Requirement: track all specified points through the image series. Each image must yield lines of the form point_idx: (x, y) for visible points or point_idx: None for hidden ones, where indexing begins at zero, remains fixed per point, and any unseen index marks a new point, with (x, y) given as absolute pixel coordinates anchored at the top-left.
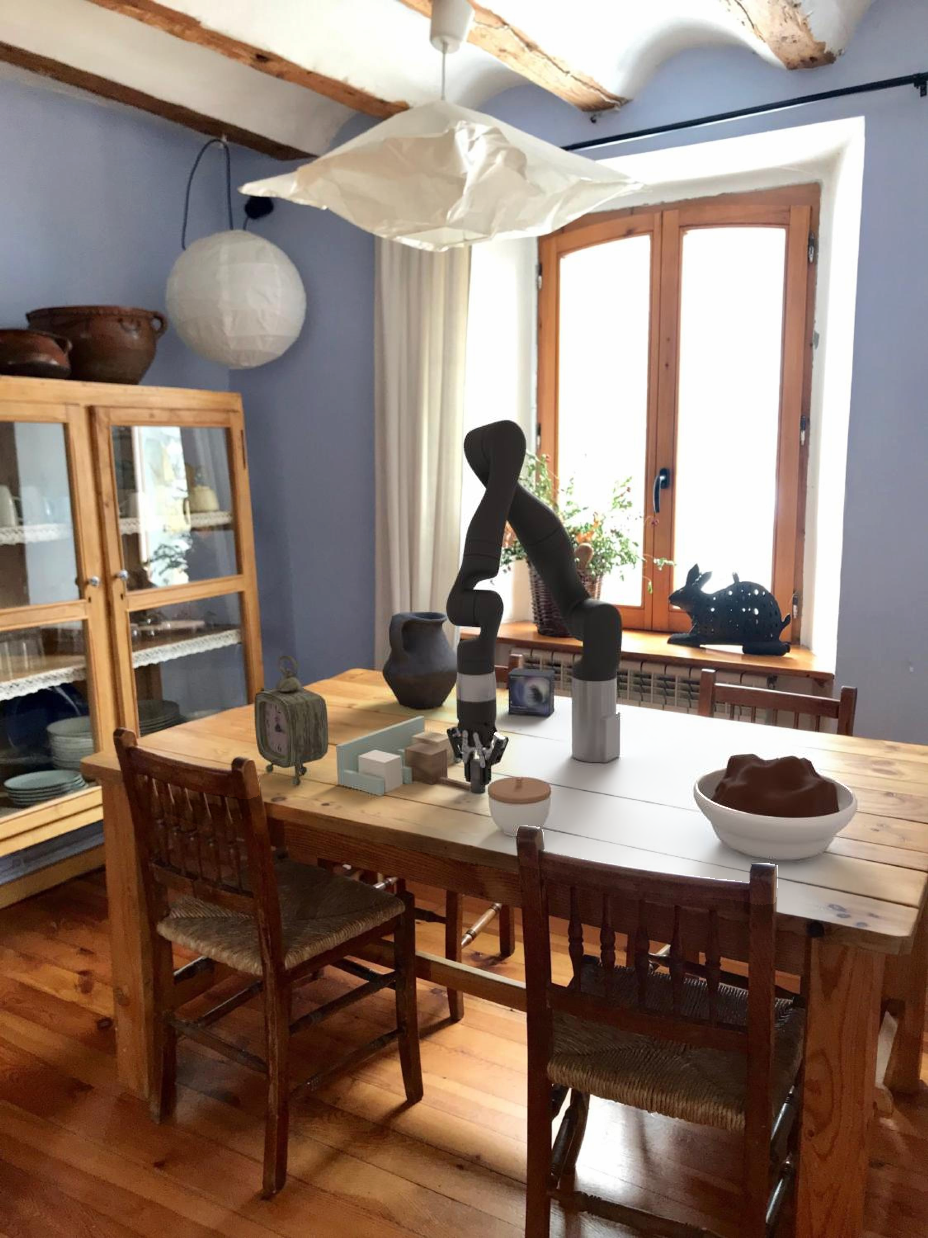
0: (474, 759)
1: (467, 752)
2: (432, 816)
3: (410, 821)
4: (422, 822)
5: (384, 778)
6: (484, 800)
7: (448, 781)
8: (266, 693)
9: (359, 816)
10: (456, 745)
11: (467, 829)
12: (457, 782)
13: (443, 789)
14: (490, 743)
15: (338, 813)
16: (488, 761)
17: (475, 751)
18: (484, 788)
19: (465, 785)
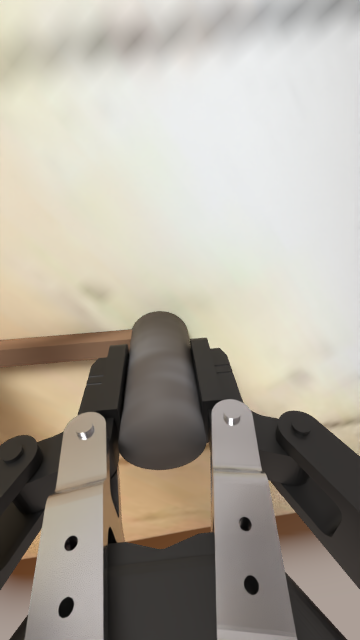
0: (129, 441)
1: (123, 535)
2: (191, 486)
3: (173, 513)
4: (196, 505)
5: None
6: (233, 373)
7: (17, 363)
8: None
9: None
10: (4, 578)
11: None
12: (59, 359)
13: (54, 388)
14: (277, 563)
15: (36, 552)
16: (278, 483)
17: (106, 470)
18: (188, 337)
19: (105, 356)
